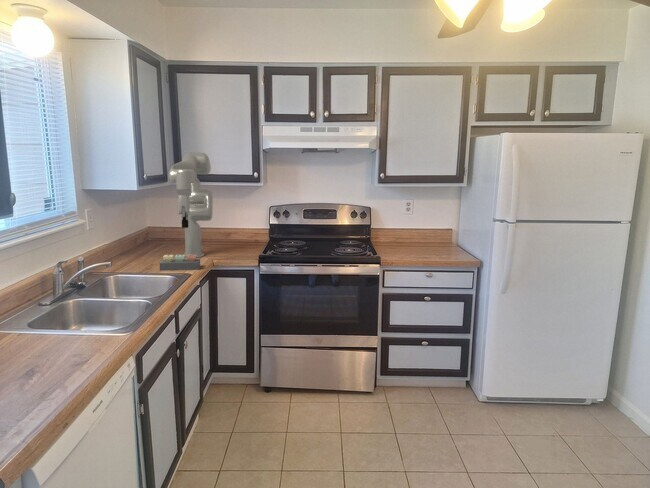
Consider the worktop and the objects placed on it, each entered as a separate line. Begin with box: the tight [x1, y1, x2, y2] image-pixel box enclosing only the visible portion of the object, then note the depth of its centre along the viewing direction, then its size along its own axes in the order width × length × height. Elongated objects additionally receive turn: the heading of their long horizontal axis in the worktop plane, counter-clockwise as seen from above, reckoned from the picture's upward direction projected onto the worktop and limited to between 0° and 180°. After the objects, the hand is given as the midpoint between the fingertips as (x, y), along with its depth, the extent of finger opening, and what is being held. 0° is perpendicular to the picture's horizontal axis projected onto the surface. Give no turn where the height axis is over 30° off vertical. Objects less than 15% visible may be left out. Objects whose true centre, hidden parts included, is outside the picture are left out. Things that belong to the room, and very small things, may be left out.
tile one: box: [162, 254, 175, 262], centre depth 229 cm, size 5×5×5 cm
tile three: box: [186, 254, 198, 262], centre depth 231 cm, size 5×5×5 cm
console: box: [159, 258, 201, 272], centre depth 230 cm, size 20×9×4 cm, turn 103°
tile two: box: [174, 254, 186, 262], centre depth 230 cm, size 5×5×5 cm
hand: (185, 227), depth 227 cm, fingers closed
